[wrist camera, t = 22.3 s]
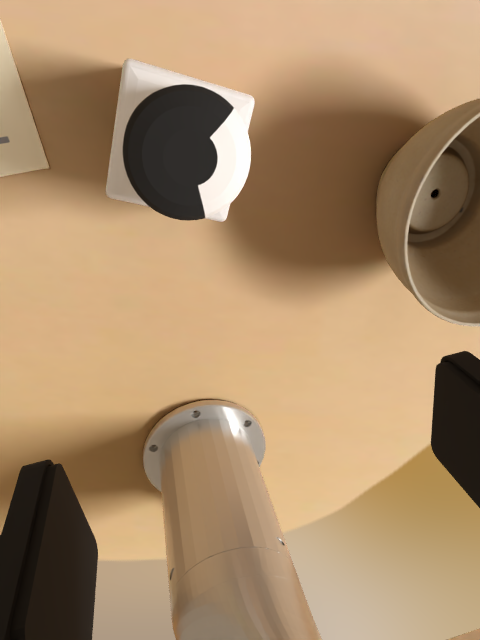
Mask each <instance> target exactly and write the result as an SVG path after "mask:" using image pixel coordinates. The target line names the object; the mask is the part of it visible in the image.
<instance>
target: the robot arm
mask: <svg viewBox="0 0 480 640" xmlns="http://www.w3.org/2000/svg"><path fill="white" fill-rule="evenodd" d="M431 446H432V450H433V452H434V454H435V456H436V457H437V459H438V460H439V461H440V462H441V463H442V465H444V467H445V468H446V469H447V470H448V472H449V473H450V474H451V475H452V476H453V477H454V479H455V480H456V481H457V482H458V483H459V484H460V486H461V487H462V488H463V489H464V490H465V491H466V493H468V495H469V496H470V497H471V498H472V500H473V501H474V502H475V503H476V504H477V505H478V507H479V508H480V360H479V359H478V358H477V357H475V356H474V355H472V354H471V353H469V352H467V351H463V352H459V353H455V354H452V355H448V356H445V357H443V358H442V359H441V363H440V364H438V365H437V366H436V374H435V389H434V404H433V420H432V435H431ZM265 449H266V447H265V437H264V434H263V431H262V428H261V426H260V424H259V422H258V421H257V419H256V418H255V417H254V415H253V414H251V413H250V412H249V411H248V410H247V409H245V408H243V407H241V406H239V405H237V404H234V403H231V402H228V401H221V400H202V401H197V402H193V403H189V404H186V405H184V406H181V407H179V408H177V409H175V410H173V411H172V412H170V413H168V414H167V415H166V416H164V417H163V418H162V419H161V420H160V421H158V423H157V424H156V425H155V426H154V427H153V428H152V430H151V431H150V433H149V435H148V437H147V439H146V442H145V445H144V449H143V464H144V470H145V473H146V476H147V478H148V479H149V481H150V482H151V484H152V485H153V486H154V487H155V488H157V489H158V490H159V491H160V492H162V504H163V517H164V530H165V542H166V555H167V566H168V579H169V592H170V603H171V604H170V605H171V617H172V625H173V630H174V634H175V638H176V640H322V638H321V636H320V634H319V632H318V629H317V627H316V624H315V622H314V619H313V616H312V614H311V611H310V608H309V606H308V603H307V600H306V598H305V595H304V592H303V590H302V587H301V584H300V581H299V578H298V575H297V573H296V570H295V567H294V565H293V562H292V559H291V556H290V553H289V551H288V548H287V545H286V542H285V539H284V536H283V533H282V531H281V528H280V525H279V522H278V519H277V516H276V514H275V511H274V508H273V505H272V502H271V499H270V496H269V494H268V491H267V488H266V485H265V482H264V479H263V476H262V474H261V471H260V468H259V467H260V465H261V463H262V460H263V458H264V454H265ZM97 560H98V549H97V543H96V540H95V537H94V535H93V533H92V531H91V528H90V526H89V524H88V522H87V519H86V517H85V515H84V513H83V511H82V508H81V506H80V504H79V502H78V500H77V497H76V495H75V493H74V491H73V489H72V486H71V484H70V482H69V480H68V477H67V475H66V473H65V471H64V469H63V467H62V465H61V464H55V465H54V464H53V462H52V461H51V460H45V461H41V462H37V463H33V464H29V465H26V466H23V467H22V468H21V471H20V473H19V477H18V480H17V484H16V487H15V490H14V494H13V497H12V500H11V504H10V507H9V511H8V514H7V517H6V521H5V524H4V527H3V531H2V534H1V535H0V640H92V630H93V629H92V628H93V616H94V602H95V587H96V573H97ZM447 640H480V629H477V630H474V631H471V632H468V633H465V634H462V635H459V636H456V637H453V638H450V639H447Z"/></svg>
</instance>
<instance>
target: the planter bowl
mask: <svg viewBox="0 0 480 640" xmlns="http://www.w3.org/2000/svg"><path fill="white" fill-rule="evenodd" d="M435 189H437V190H438V191H439V193H438V196H437V197H435V198H432V197H431V193H432V191H433V190H435ZM376 207H377V211H376V220H377V231H378V236H379V241H380V244H381V247H382V250H383V253H384V255H385V257H386V260H387V262H388V264H389V265H390V267H391V269H392V270H393V272H394V273H395V275H396V276H397V277H398V279H399V280H400V281H401V282H402V284H403V285H404V286H405V287H406V288H407V289H408V290H409V291H410V292H411V293H412V294H413V295H414V296H415V298H416V299H417V300H418V301H419V302H420V304H421V305H423V306H424V307H425V308H426V309H427V310H428V311H430V312H431V313H432V314H434V315H435V316H437V317H439V318H440V319H443V320H445V321H448V322H450V323H454V324H458V325H463V326H480V99H476V100H473V101H470V102H467V103H465V104H462V105H460V106H458V107H456V108H453V109H451V110H449V111H447V112H445V113H444V114H442V115H440V116H439V117H437V118H435V119H434V120H432V121H431V122H429V123H428V124H427V125H425V126H424V127H423V128H422V129H420V130H419V131H418V132H417V133H416V134H415V135H413V136H412V137H411V138H410V139H409V140H408V141H407V143H406V144H405V145H404V146H403V147H402V148H401V149H400V150H399V151H398V152H397V153H396V154H395V155H394V156H393V157H392V159H391V160H390V161H389V163H388V164H387V166H386V168H385V170H384V172H383V174H382V176H381V178H380V182H379V185H378V189H377V196H376Z"/></svg>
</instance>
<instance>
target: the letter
mask: <svg viewBox="0 0 480 640" xmlns="http://www.w3.org/2000/svg"><path fill="white" fill-rule="evenodd" d="M46 168H50V167H49V164H48V161H47V158H46V155H45V152H44V149H43V146H42V143H41V140H40V137H39V134H38V131H37V128H36V125H35V122H34V119H33V116H32V113H31V110H30V107H29V104H28V101H27V98H26V95H25V92H24V89H23V86H22V83H21V80H20V77H19V74H18V71H17V68H16V65H15V62H14V59H13V56H12V53H11V50H10V47H9V44H8V41H7V38H6V35H5V32H4V29H3V26H2V23H1V20H0V177H3V176H8V175H13V174H19V173H24V172H30V171H35V170H41V169H46Z"/></svg>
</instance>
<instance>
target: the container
mask: <svg viewBox="0 0 480 640" xmlns="http://www.w3.org/2000/svg"><path fill="white" fill-rule="evenodd" d="M253 108H254V98H253V97H252V96H251V95H249V94H245V93H242V92H239V91H236V90H232V89H229V88H226V87H222V86H219V85H216V84H213V83H209V82H206V81H203V80H200V79H196V78H193V77H190V76H186V75H183V74H180V73H177V72H173V71H170V70H167V69H164V68H160V67H157V66H154V65H150V64H147V63H144V62H141V61H137V60H134V59H126V60H125V61H124V63H123V68H122V75H121V82H120V89H119V97H118V104H117V111H116V118H115V126H114V133H113V140H112V147H111V155H110V162H109V169H108V177H107V184H106V195H107V196H108V197H109V198H111V199H115V200H120V201H125V202H130V203H134V204H139V205H144V206H148V207H151V208H152V209H154V210H155V211H157V212H159V213H161V214H163V215H165V216H168V217H170V218H174V219H179V220H198V219H203V218H205V219H210V220H214V221H219V222H222V221H225V220H226V218H227V215H228V211H229V207H230V203H231V202H232V201H233V200H234V199H235V198H236V197H237V195H238V194H239V193H240V191H241V189H242V188H243V186H244V184H245V181H246V179H247V176H248V173H249V169H250V162H251V147H250V140H249V136H248V129H249V124H250V120H251V116H252V112H253Z"/></svg>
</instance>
